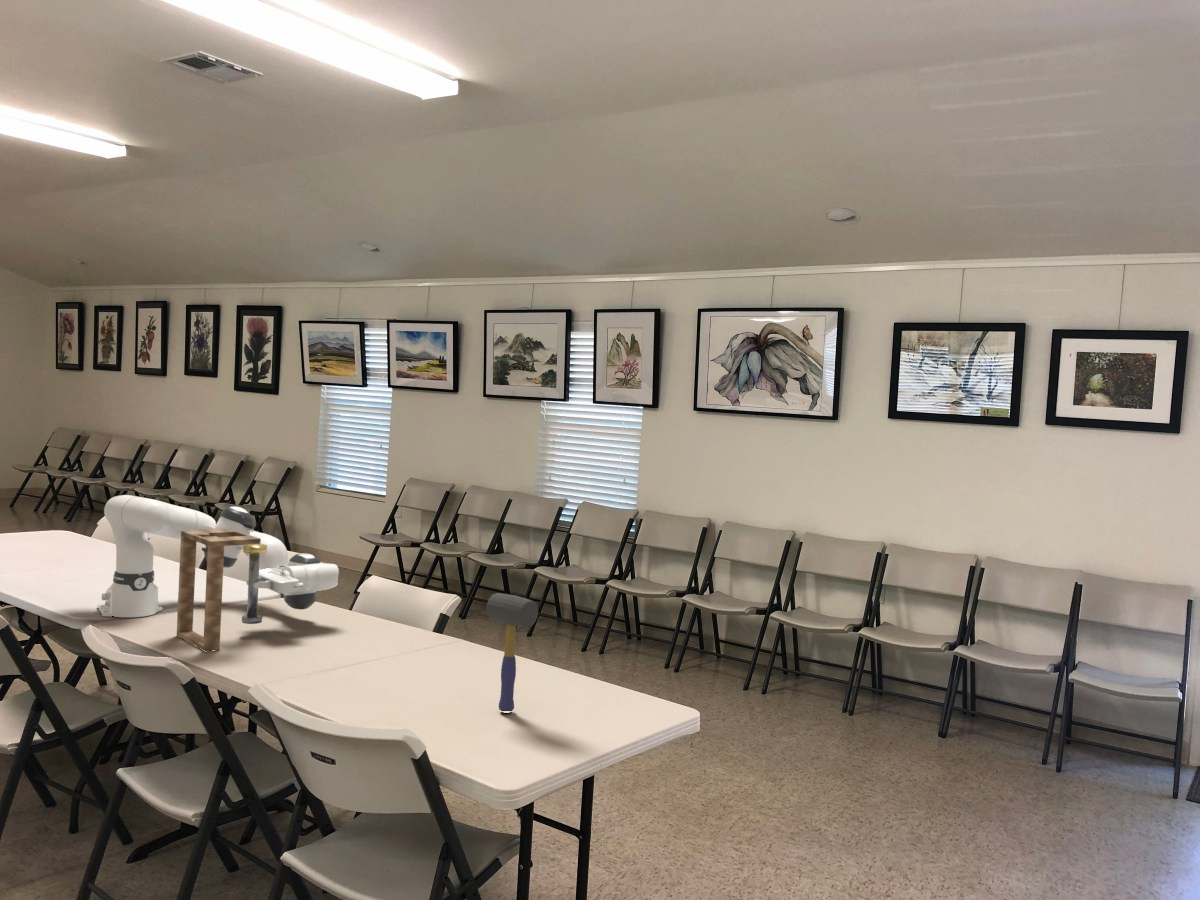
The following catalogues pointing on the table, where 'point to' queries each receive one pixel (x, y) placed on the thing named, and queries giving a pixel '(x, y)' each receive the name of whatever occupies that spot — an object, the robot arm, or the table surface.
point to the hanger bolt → (253, 577)
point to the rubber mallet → (510, 636)
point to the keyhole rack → (213, 582)
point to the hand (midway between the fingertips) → (250, 583)
